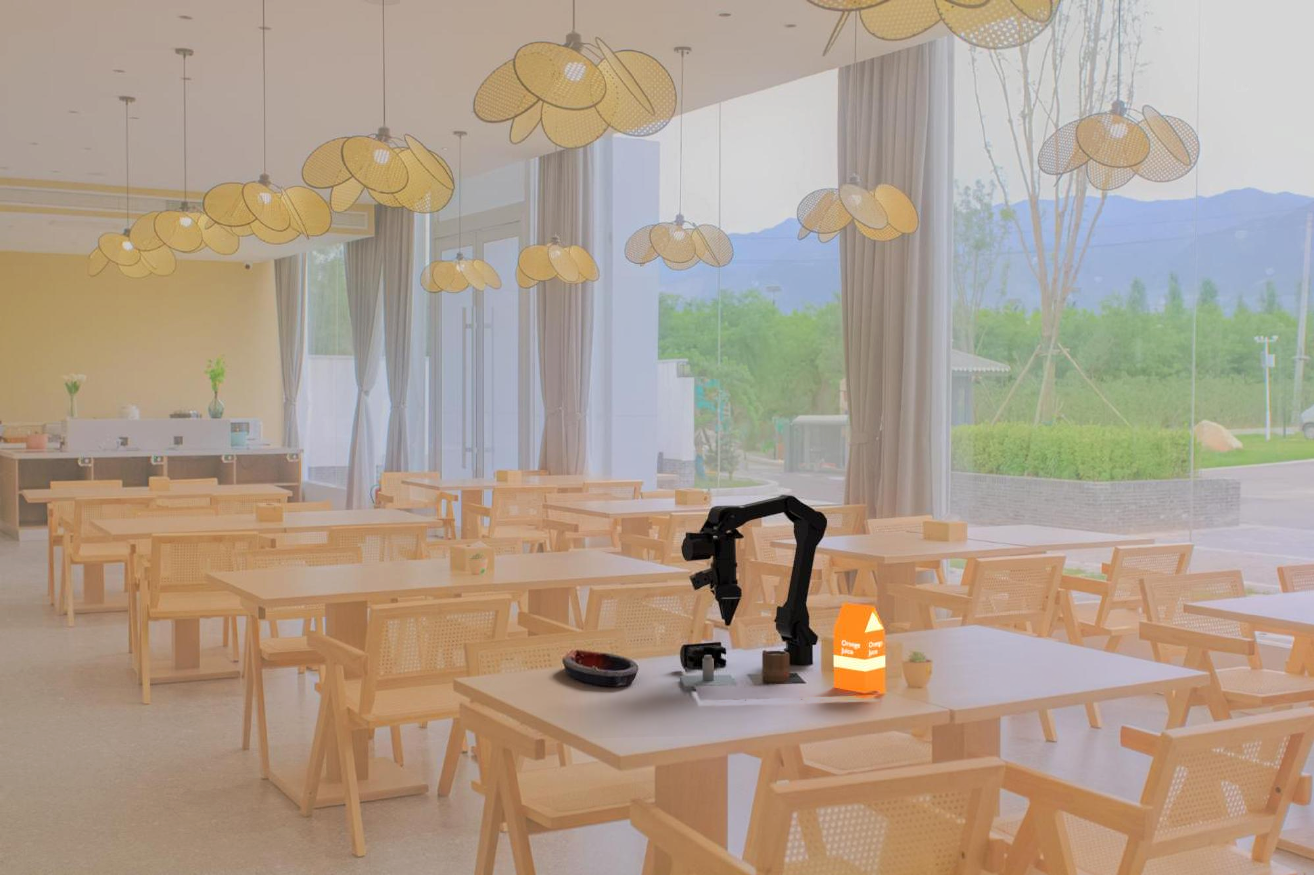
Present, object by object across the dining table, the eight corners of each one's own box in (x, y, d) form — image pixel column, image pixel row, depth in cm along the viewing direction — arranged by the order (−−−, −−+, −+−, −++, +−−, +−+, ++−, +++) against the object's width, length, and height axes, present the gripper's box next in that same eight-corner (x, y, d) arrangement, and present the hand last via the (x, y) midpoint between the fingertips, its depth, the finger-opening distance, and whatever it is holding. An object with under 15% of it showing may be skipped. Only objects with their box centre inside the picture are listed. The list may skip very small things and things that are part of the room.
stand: (796, 678, 299) (796, 649, 299) (806, 688, 287) (806, 658, 287) (746, 679, 298) (746, 650, 298) (754, 689, 286) (754, 660, 286)
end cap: (716, 666, 314) (716, 640, 314) (728, 671, 308) (727, 644, 308) (679, 670, 311) (679, 642, 311) (690, 675, 304) (690, 647, 304)
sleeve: (786, 675, 296) (786, 648, 296) (791, 680, 290) (790, 652, 290) (761, 676, 295) (761, 648, 295) (765, 681, 289) (765, 653, 289)
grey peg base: (730, 679, 298) (730, 650, 298) (737, 690, 286) (737, 659, 286) (680, 680, 297) (680, 651, 297) (685, 691, 285) (684, 660, 285)
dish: (591, 693, 285) (591, 671, 285) (549, 669, 313) (548, 649, 313) (653, 687, 291) (653, 665, 291) (606, 664, 319) (606, 645, 319)
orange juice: (854, 687, 288) (853, 601, 287) (885, 693, 281) (885, 604, 281) (833, 692, 282) (832, 604, 282) (865, 698, 276) (864, 608, 276)
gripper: (688, 554, 310) (690, 617, 311) (693, 563, 292) (695, 630, 292) (733, 553, 311) (734, 616, 311) (741, 562, 292) (742, 628, 292)
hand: (725, 622), depth 301 cm, fingers open, 9 cm apart
